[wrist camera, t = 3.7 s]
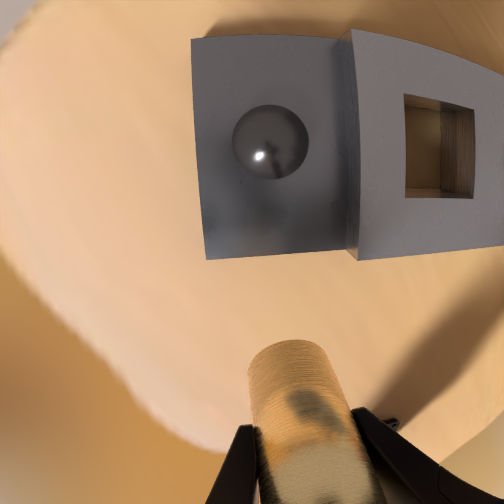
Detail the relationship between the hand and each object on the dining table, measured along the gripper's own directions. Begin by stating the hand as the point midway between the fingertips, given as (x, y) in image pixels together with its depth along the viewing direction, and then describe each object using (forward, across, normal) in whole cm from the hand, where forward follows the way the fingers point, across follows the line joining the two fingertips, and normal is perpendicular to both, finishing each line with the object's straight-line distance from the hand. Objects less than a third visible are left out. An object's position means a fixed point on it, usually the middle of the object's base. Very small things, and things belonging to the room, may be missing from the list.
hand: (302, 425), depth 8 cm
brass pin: (+3, 0, 0) cm, 3 cm away
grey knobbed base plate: (+9, -8, -8) cm, 14 cm away
